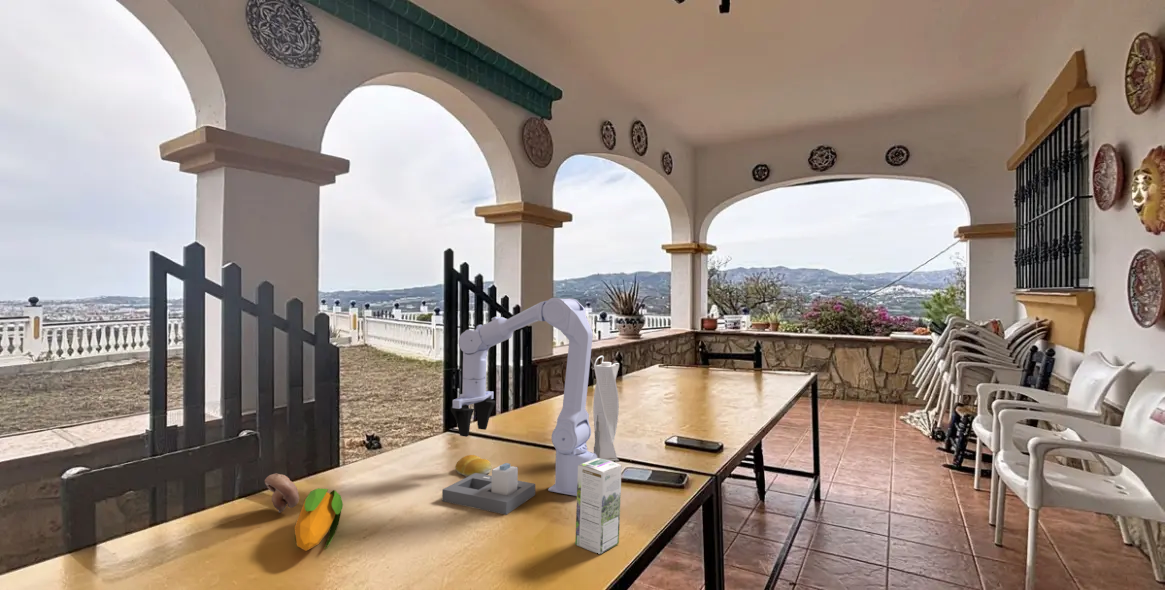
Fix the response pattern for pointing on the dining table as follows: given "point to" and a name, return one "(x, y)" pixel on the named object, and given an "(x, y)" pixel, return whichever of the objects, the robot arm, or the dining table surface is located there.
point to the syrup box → (598, 505)
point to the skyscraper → (605, 409)
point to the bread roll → (473, 465)
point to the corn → (318, 518)
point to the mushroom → (282, 491)
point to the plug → (504, 479)
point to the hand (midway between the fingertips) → (473, 432)
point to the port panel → (486, 494)
